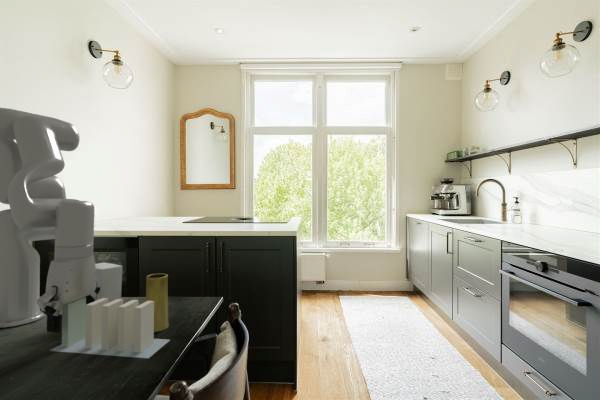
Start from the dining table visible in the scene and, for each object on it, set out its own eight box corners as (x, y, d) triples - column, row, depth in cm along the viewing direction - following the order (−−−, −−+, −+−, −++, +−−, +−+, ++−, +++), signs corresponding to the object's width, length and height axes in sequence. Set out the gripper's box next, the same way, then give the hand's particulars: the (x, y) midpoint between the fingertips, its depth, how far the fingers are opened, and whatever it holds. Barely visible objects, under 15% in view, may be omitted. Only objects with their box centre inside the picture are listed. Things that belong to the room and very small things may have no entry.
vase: (159, 334, 80) (159, 279, 80) (138, 332, 81) (139, 277, 81) (173, 325, 86) (174, 273, 86) (153, 323, 87) (154, 272, 87)
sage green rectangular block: (61, 346, 72) (62, 303, 72) (79, 337, 77) (80, 296, 77) (67, 347, 71) (68, 303, 71) (85, 337, 76) (85, 297, 76)
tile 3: (101, 349, 70) (101, 305, 70) (116, 339, 75) (117, 298, 75) (107, 350, 70) (108, 306, 70) (122, 340, 75) (123, 299, 75)
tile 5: (133, 352, 70) (134, 307, 70) (147, 342, 74) (147, 300, 74) (140, 352, 69) (141, 308, 69) (153, 342, 74) (154, 300, 74)
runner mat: (49, 352, 70) (49, 350, 70) (81, 335, 79) (81, 333, 79) (148, 360, 67) (148, 358, 67) (170, 341, 76) (170, 339, 76)
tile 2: (85, 348, 71) (85, 304, 71) (101, 338, 76) (102, 298, 76) (91, 349, 71) (92, 305, 71) (107, 339, 76) (108, 298, 76)
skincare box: (80, 320, 88) (81, 266, 88) (103, 313, 94) (103, 261, 94) (100, 325, 85) (101, 268, 85) (122, 317, 91) (123, 264, 91)
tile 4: (117, 350, 70) (117, 306, 70) (132, 341, 75) (132, 299, 75) (123, 351, 70) (124, 307, 70) (138, 341, 75) (138, 300, 75)
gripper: (88, 245, 83) (87, 309, 83) (24, 258, 66) (22, 338, 66) (114, 247, 82) (112, 311, 83) (56, 260, 65) (53, 341, 65)
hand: (72, 323), depth 74 cm, fingers open, 9 cm apart
